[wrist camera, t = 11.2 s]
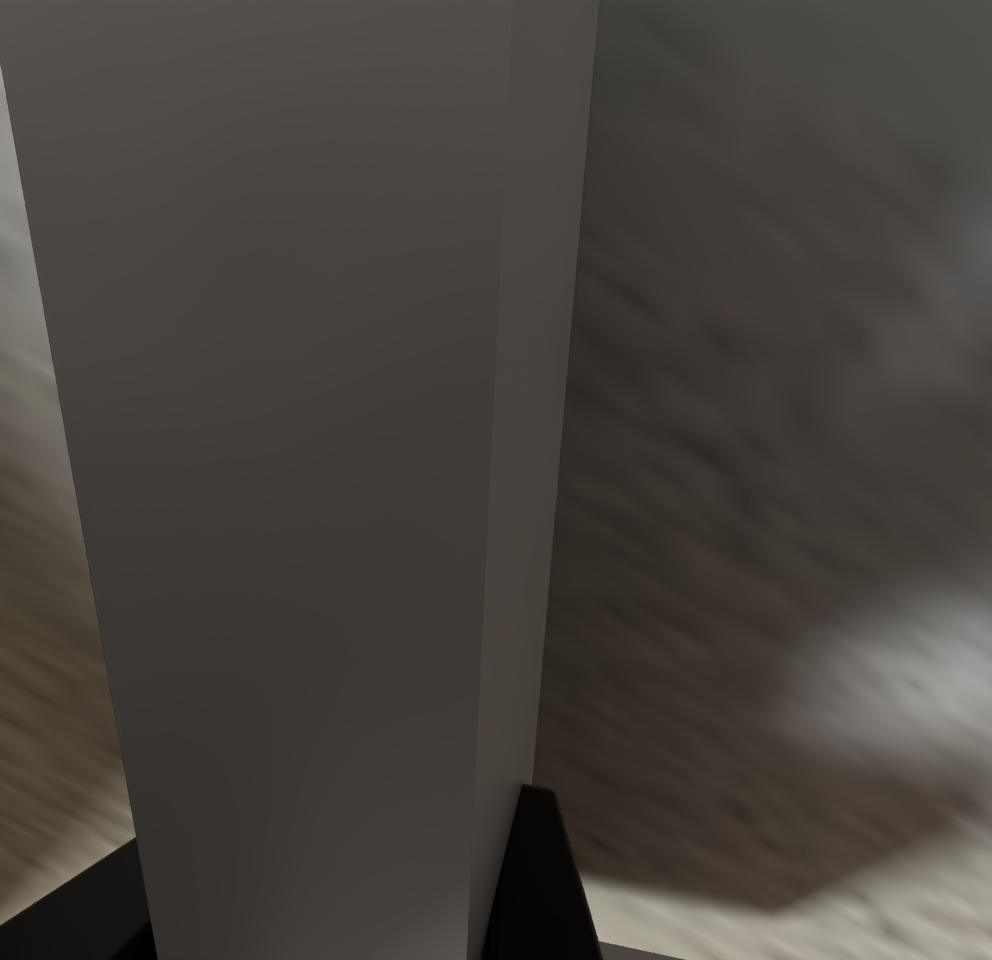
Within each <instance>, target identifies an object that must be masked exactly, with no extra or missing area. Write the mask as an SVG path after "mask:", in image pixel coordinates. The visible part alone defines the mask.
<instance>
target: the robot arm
mask: <svg viewBox="0 0 992 960" xmlns="http://www.w3.org/2000/svg"><path fill="white" fill-rule="evenodd" d="M0 960H158V959H157V953H156V947H155V941H154V936H153V930H152V924H151V919H150V913H149V907H148V902H147V896H146V890H145V884H144V879H143V873H142V867H141V862H140V856H139V850H138V845H137V839H136V837H135V838H133V839H132V840H130V841H129V842H127V843H126V844H124V845H123V846H121V847H120V848H118V849H117V850H115V851H114V852H112V853H110V854H109V855H107V856H106V857H104V858H103V859H101V860H100V861H98V862H97V863H95V864H94V865H92V866H91V867H89V868H87V869H86V870H84V871H83V872H81V873H80V874H78V875H77V876H75V877H74V878H72V879H71V880H69V881H68V882H66V883H64V884H63V885H61V886H60V887H58V888H57V889H55V890H54V891H52V892H51V893H49V894H48V895H46V896H45V897H43V898H41V899H40V900H38V901H37V902H35V903H34V904H32V905H31V906H29V907H28V908H26V909H25V910H23V911H22V912H20V913H18V914H17V915H15V916H14V917H12V918H11V919H9V920H8V921H6V922H5V923H3V924H2V925H0ZM488 960H604V958H603V954H602V951H601V947H600V944H599V940H598V937H597V934H596V930H595V927H594V923H593V920H592V916H591V913H590V909H589V906H588V902H587V899H586V895H585V892H584V888H583V885H582V882H581V878H580V875H579V871H578V868H577V864H576V861H575V857H574V854H573V850H572V847H571V843H570V840H569V836H568V833H567V830H566V826H565V823H564V819H563V816H562V812H561V809H560V805H559V802H558V798H557V795H556V793H555V792H554V790H552V789H550V788H546V787H540V786H535V785H530V784H523V785H522V788H521V791H520V795H519V799H518V803H517V807H516V811H515V815H514V819H513V823H512V827H511V831H510V835H509V839H508V843H507V847H506V851H505V855H504V859H503V863H502V867H501V871H500V875H499V879H498V883H497V888H496V892H495V896H494V901H493V906H492V914H491V928H490V943H489V957H488Z"/></svg>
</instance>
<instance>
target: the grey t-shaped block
mask: <svg viewBox="0 0 992 960" xmlns="http://www.w3.org/2000/svg"><path fill="white" fill-rule="evenodd" d="M598 10H599V0H0V63H1V69H2V75H3V80H4V86H5V92H6V97H7V103H8V109H9V115H10V120H11V126H12V132H13V137H14V143H15V149H16V155H17V160H18V166H19V172H20V177H21V183H22V189H23V194H24V200H25V206H26V212H27V217H28V223H29V229H30V234H31V240H32V246H33V251H34V257H35V263H36V269H37V274H38V280H39V286H40V291H41V297H42V303H43V308H44V314H45V320H46V326H47V331H48V337H49V343H50V348H51V354H52V360H53V366H54V371H55V377H56V383H57V388H58V394H59V400H60V405H61V411H62V417H63V423H64V428H65V434H66V440H67V445H68V451H69V457H70V462H71V468H72V474H73V480H74V485H75V491H76V497H77V502H78V508H79V514H80V519H81V525H82V531H83V537H84V542H85V548H86V554H87V559H88V565H89V571H90V577H91V582H92V588H93V594H94V599H95V605H96V611H97V616H98V622H99V628H100V634H101V639H102V645H103V651H104V656H105V662H106V668H107V673H108V679H109V685H110V691H111V696H112V702H113V708H114V713H115V719H116V725H117V730H118V736H119V742H120V748H121V753H122V759H123V765H124V770H125V776H126V782H127V787H128V793H129V799H130V805H131V810H132V816H133V822H134V827H135V833H136V839H137V845H138V850H139V856H140V862H141V867H142V873H143V879H144V884H145V890H146V896H147V902H148V907H149V913H150V919H151V924H152V930H153V936H154V941H155V947H156V953H157V959H158V960H488V957H489V943H490V928H491V914H492V906H493V901H494V896H495V892H496V888H497V883H498V879H499V875H500V871H501V867H502V863H503V859H504V855H505V851H506V847H507V843H508V839H509V835H510V831H511V827H512V823H513V819H514V815H515V811H516V807H517V803H518V799H519V795H520V791H521V788H522V785H523V784H530V785H532V778H533V767H534V755H535V743H536V732H537V720H538V708H539V697H540V685H541V673H542V662H543V650H544V638H545V627H546V615H547V604H548V592H549V580H550V569H551V557H552V545H553V534H554V522H555V510H556V499H557V487H558V475H559V464H560V452H561V441H562V429H563V417H564V406H565V394H566V382H567V371H568V359H569V347H570V336H571V324H572V312H573V301H574V289H575V278H576V266H577V254H578V243H579V231H580V219H581V208H582V196H583V184H584V173H585V161H586V149H587V138H588V126H589V115H590V103H591V91H592V80H593V68H594V56H595V45H596V33H597V21H598ZM599 944H600V947H601V951H602V954H603V958H604V960H684V959H679V958H675V957H670V956H665V955H661V954H656V953H651V952H647V951H642V950H637V949H633V948H628V947H624V946H619V945H614V944H610V943H605V942H600V941H599Z"/></svg>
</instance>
